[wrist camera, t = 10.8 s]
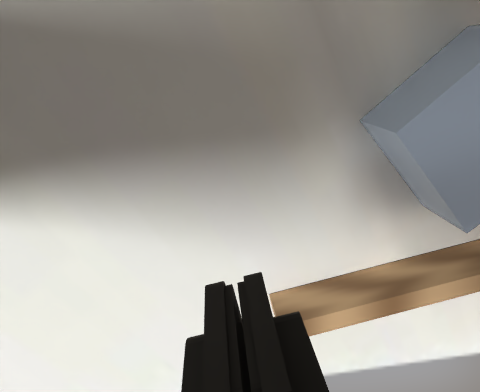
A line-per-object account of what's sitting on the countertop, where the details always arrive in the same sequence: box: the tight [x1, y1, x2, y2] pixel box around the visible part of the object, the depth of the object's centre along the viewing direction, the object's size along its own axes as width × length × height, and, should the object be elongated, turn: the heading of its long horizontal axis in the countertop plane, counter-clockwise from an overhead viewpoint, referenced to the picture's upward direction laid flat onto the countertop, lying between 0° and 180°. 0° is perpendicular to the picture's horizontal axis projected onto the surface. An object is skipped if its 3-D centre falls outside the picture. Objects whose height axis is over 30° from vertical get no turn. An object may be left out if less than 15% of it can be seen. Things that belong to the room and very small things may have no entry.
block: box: [360, 25, 480, 233], centre depth 18 cm, size 7×7×4 cm
